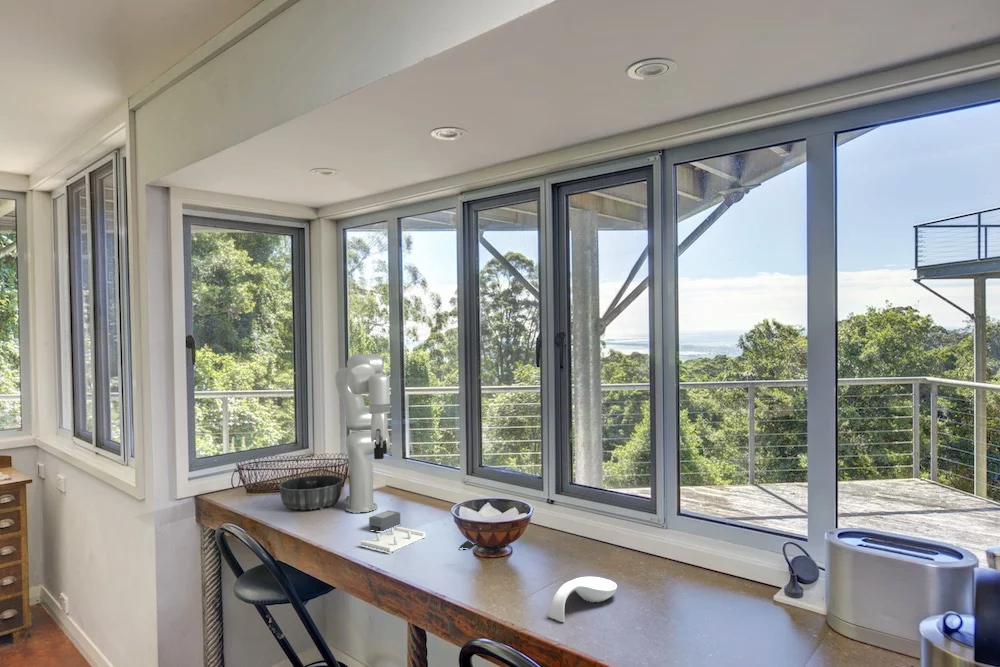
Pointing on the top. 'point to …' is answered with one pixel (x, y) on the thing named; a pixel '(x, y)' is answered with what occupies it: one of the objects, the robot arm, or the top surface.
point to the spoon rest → (581, 593)
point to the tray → (394, 539)
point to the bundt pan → (311, 491)
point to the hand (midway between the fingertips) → (380, 456)
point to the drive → (384, 520)
